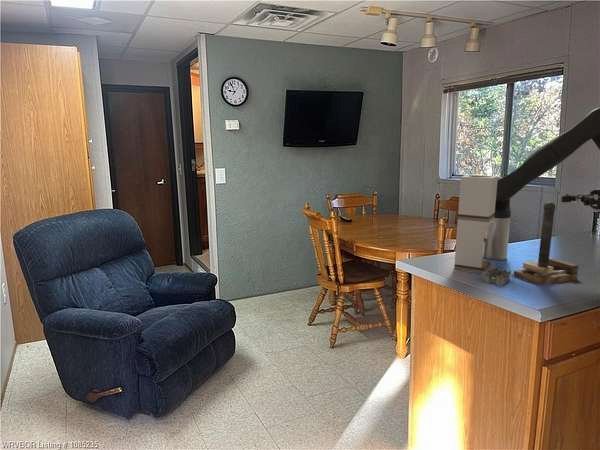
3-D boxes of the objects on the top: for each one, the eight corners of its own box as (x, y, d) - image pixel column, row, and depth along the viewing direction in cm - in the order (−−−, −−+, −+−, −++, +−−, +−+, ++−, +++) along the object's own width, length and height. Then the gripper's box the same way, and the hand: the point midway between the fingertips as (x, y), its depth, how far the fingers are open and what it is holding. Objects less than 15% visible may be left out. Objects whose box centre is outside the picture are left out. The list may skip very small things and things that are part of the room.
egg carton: (502, 286, 151) (503, 274, 150) (479, 281, 156) (480, 270, 155) (513, 279, 159) (514, 268, 158) (491, 275, 164) (492, 264, 163)
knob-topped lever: (541, 274, 153) (549, 203, 149) (522, 268, 161) (529, 200, 156) (552, 272, 155) (560, 202, 151) (533, 266, 163) (540, 199, 158)
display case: (483, 273, 164) (492, 177, 158) (454, 269, 170) (460, 176, 163) (489, 266, 173) (497, 175, 167) (461, 262, 179) (468, 174, 173)
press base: (539, 284, 152) (540, 270, 151) (513, 275, 162) (514, 262, 161) (578, 279, 158) (580, 265, 157) (551, 270, 168) (552, 257, 167)
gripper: (588, 186, 167) (556, 188, 161) (627, 190, 154) (594, 192, 148) (586, 206, 169) (554, 208, 163) (624, 212, 155) (591, 214, 150)
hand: (573, 200), depth 156 cm, fingers open, 8 cm apart
